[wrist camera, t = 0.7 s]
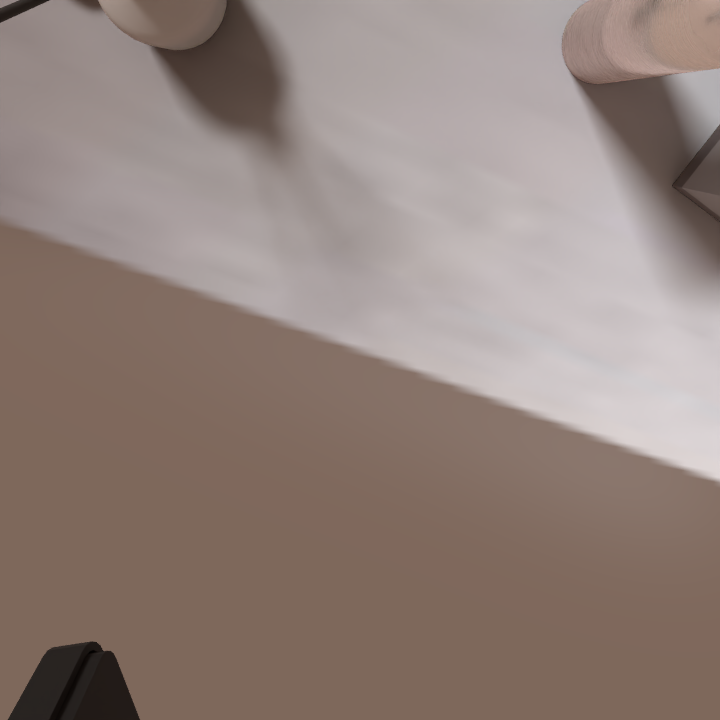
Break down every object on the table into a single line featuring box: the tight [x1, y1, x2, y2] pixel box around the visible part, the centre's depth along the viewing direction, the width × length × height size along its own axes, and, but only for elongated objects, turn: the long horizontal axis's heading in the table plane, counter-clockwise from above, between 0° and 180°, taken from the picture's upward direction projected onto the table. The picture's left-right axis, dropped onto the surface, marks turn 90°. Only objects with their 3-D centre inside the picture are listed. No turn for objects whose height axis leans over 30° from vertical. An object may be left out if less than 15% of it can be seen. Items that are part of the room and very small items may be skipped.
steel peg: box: [562, 0, 720, 84], centre depth 25 cm, size 4×4×12 cm
